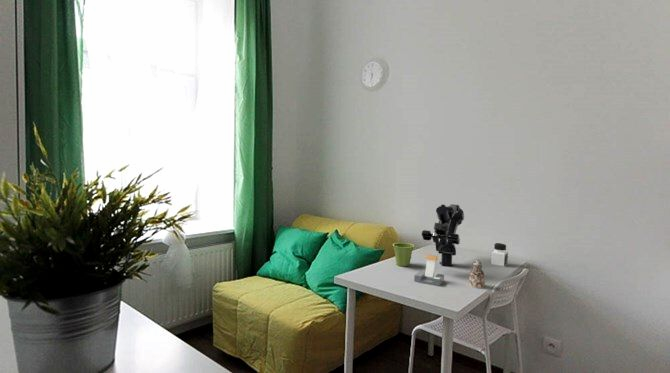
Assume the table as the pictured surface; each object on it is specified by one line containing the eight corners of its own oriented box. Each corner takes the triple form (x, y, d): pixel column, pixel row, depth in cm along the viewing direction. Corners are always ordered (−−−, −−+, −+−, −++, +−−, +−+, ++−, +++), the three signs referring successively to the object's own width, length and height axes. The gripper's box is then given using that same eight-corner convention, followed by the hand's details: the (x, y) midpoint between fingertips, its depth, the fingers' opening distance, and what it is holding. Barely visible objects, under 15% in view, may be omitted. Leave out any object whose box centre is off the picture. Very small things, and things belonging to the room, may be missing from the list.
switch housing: (420, 276, 188) (420, 270, 187) (444, 280, 181) (444, 274, 181) (414, 281, 180) (414, 274, 180) (439, 286, 174) (439, 279, 173)
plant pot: (412, 262, 213) (413, 242, 212) (414, 268, 201) (415, 247, 200) (391, 261, 214) (392, 242, 213) (392, 267, 202) (393, 247, 201)
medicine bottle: (504, 266, 208) (505, 245, 207) (490, 264, 212) (492, 243, 211) (507, 264, 213) (508, 243, 212) (494, 261, 218) (495, 241, 217)
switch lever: (425, 276, 183) (428, 255, 185) (434, 278, 180) (437, 256, 183) (423, 275, 180) (426, 254, 183) (433, 277, 178) (436, 255, 180)
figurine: (466, 286, 175) (467, 260, 174) (470, 282, 181) (471, 257, 180) (482, 289, 171) (484, 263, 170) (486, 285, 177) (487, 260, 176)
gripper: (423, 215, 198) (415, 239, 189) (459, 218, 188) (453, 244, 180) (427, 227, 205) (420, 251, 196) (462, 231, 196) (456, 256, 187)
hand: (436, 250), depth 190 cm, fingers closed
